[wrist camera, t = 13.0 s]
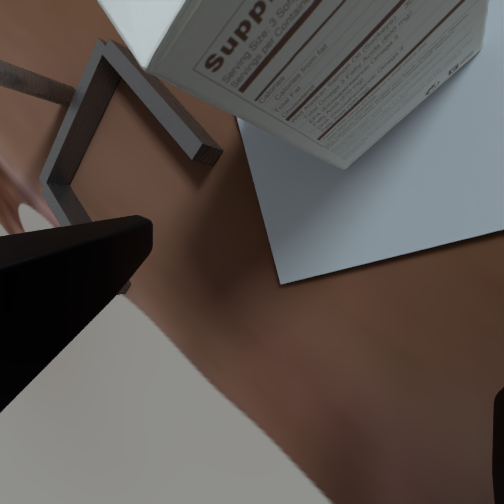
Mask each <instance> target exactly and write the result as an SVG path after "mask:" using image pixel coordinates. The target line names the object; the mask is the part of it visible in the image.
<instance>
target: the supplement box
mask: <svg viewBox="0 0 504 504" xmlns="http://www.w3.org/2000/svg"><path fill="white" fill-rule="evenodd" d="M97 1H98V3H99V4H100V6H101V7H102V9H103V10H104V12H105V13H106V15H107V16H108V18H109V19H110V21H111V22H112V24H113V25H114V27H115V28H116V30H117V31H118V33H119V34H120V36H121V38H122V39H123V41H124V42H125V44H126V45H127V47H128V48H129V50H130V51H131V52H132V54H133V55H134V57H135V59H136V60H137V62H138V64H139V65H140V67H141V68H142V69H143V70H144V71H145V72H146V73H148V74H150V75H153V76H155V77H157V78H159V79H161V80H163V81H165V82H167V83H170V84H172V85H174V86H176V87H178V88H180V89H182V90H184V91H186V92H188V93H190V94H191V95H193V96H195V97H197V98H199V99H201V100H203V101H206V102H208V103H210V104H212V105H214V106H215V107H217V108H219V109H221V110H224V111H226V112H228V113H230V114H232V115H234V116H236V117H238V118H240V119H242V120H243V121H245V122H247V123H249V124H251V125H253V126H255V127H257V128H259V129H261V130H263V131H265V132H267V133H269V134H271V135H273V136H275V137H277V138H279V139H281V140H283V141H285V142H287V143H289V144H291V145H293V146H295V147H297V148H299V149H301V150H303V151H305V152H307V153H309V154H311V155H313V156H315V157H317V158H319V159H321V160H324V161H326V162H328V163H330V164H332V165H334V166H336V167H338V168H340V169H342V170H345V169H347V168H348V167H349V166H350V165H351V164H352V163H353V162H354V161H355V160H356V159H358V158H359V157H360V156H361V155H362V154H363V153H365V152H366V151H367V150H368V149H369V148H370V147H371V146H372V145H374V144H375V143H376V142H377V141H378V140H379V139H381V138H382V137H383V136H384V135H385V134H386V133H387V132H388V131H389V130H391V129H392V128H393V127H394V126H395V125H396V124H397V123H399V122H400V121H401V120H402V119H403V118H404V117H405V116H407V115H408V114H409V113H410V112H411V111H412V110H413V109H415V108H416V107H417V106H418V105H419V104H420V103H421V102H422V101H423V100H425V99H426V98H427V97H428V96H429V95H431V94H432V93H433V92H434V91H435V90H436V89H437V88H438V87H439V86H441V85H442V84H443V83H444V82H445V81H446V80H447V79H449V78H450V77H451V76H452V75H453V74H454V73H455V72H456V71H457V70H458V69H460V68H461V67H462V66H463V65H464V64H465V63H467V62H468V61H469V60H470V59H471V58H472V57H473V56H474V55H475V54H477V53H478V52H479V51H480V50H481V49H482V47H483V44H484V36H485V28H486V21H487V13H488V4H489V0H97Z"/></svg>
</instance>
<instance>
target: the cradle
mask: <svg viewBox="0 0 504 504" xmlns="http://www.w3.org/2000/svg"><path fill="white" fill-rule="evenodd" d="M121 77H122V78H123V79H124V80H125V82H126V83H127V84H128V85H129V86H130V87H131V89H132V90H133V91H134V92H135V93H136V95H137V96H138V97H139V98H140V99H141V100H142V102H143V103H144V104H145V105H146V106H147V108H148V109H149V110H150V111H151V112H152V113H153V115H154V116H155V117H156V118H157V119H158V121H159V122H160V123H161V124H162V125H163V126H164V128H165V129H166V130H167V131H168V132H169V134H170V135H171V136H172V137H173V138H174V139H175V141H176V142H177V143H178V144H179V145H180V147H181V148H182V149H183V150H184V151H185V152H186V154H187V155H188V156H189V157H190V158H191V160H194V161H198V162H202V163H205V164H209V165H214V163H215V162H216V160H217V159H218V157H219V156H220V154H221V153H222V152H223V150H222V149H221V148H220V146H219V145H218V144H217V143H216V142H215V141H214V140H213V139H212V138H211V137H210V135H209V134H208V133H207V132H206V131H205V130H204V129H203V128H202V127H201V126H200V124H199V123H198V122H197V121H196V120H195V119H194V118H193V117H192V116H191V115H190V113H189V112H188V111H187V110H186V109H185V108H184V107H183V106H182V105H181V104H180V102H179V101H178V100H177V99H176V98H175V97H174V96H173V95H172V94H171V93H170V91H169V90H168V89H167V88H166V87H165V86H164V85H163V84H162V83H161V82H160V80H159V79H158V78H157V77H155V76H153V75H150V74H148V73H146V72H145V71H144V70H143V69H142V68H141V67H140V65H139V64H138V62H137V60H136V59H135V57H134V55H133V54H132V52H131V51H130V50H129V49H128V48H126V47H124V46H122V45H120V44H119V43H117V42H115V41H113V40H111V39H109V40H108V43H107V42H105V41H103V40H102V39H100V38H98V40H97V42H96V45H95V47H94V49H93V52H92V54H91V56H90V59H89V61H88V63H87V66H86V68H85V71H84V73H83V75H82V78H81V80H80V82H79V85H78V87H77V89H76V91H75V89H74V87H72V86H69V85H66V84H64V83H61V82H58V81H56V80H53V79H50V78H47V77H45V76H42V75H39V74H37V73H34V72H31V71H29V70H26V69H23V68H21V67H18V66H15V65H12V64H10V63H7V62H4V61H2V60H0V86H3V87H6V88H9V89H12V90H15V91H18V92H22V93H25V94H28V95H31V96H34V97H37V98H41V99H44V100H47V101H50V102H53V103H56V104H60V105H63V106H66V107H69V108H68V111H67V113H66V115H65V118H64V120H63V123H62V125H61V127H60V130H59V132H58V134H57V137H56V139H55V141H54V144H53V146H52V149H51V151H50V153H49V156H48V158H47V160H46V163H45V165H44V167H43V170H42V172H41V175H40V177H39V180H40V182H41V184H42V185H43V187H44V189H43V191H42V194H43V196H44V198H45V200H46V201H47V203H48V205H49V207H50V208H51V210H52V212H53V214H54V215H55V217H56V219H57V220H58V222H59V224H60V226H61V227H63V226H70V225H76V224H82V223H89V222H92V221H91V219H90V218H89V216H88V215H87V213H86V211H85V210H84V208H83V207H82V205H81V204H80V202H79V200H78V199H77V197H76V196H75V194H74V192H73V191H72V189H71V188H70V186H69V184H70V182H71V180H72V178H73V176H74V174H75V172H76V170H77V168H78V165H79V163H80V161H81V159H82V157H83V155H84V153H85V151H86V149H87V147H88V145H89V142H90V140H91V138H92V136H93V134H94V132H95V130H96V128H97V126H98V124H99V121H100V119H101V117H102V115H103V113H104V111H105V109H106V107H107V105H108V103H109V101H110V98H111V96H112V94H113V92H114V90H115V88H116V86H117V84H118V82H119V80H120V78H121ZM130 285H131V283H130V282H129V281H128V282H127V283H126V284H125V286H124V287H123V288H122V289H121V290H120V292H119V293H118V294H117V295H119V294H124V293H125V292H126V291H127V289H128V288H129V286H130Z"/></svg>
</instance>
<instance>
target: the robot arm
mask: <svg viewBox="0 0 504 504" xmlns="http://www.w3.org/2000/svg"><path fill="white" fill-rule="evenodd" d="M152 247H153V224H152V221H151V220H149V219H147V218H144V217H142V216H139V215H133V216H127V217H120V218H114V219H108V220H101V221H95V222H89V223H82V224H76V225H70V226H63V227H57V228H51V229H44V230H38V231H32V232H25V233H19V234H13V235H6V236H0V413H1V412H2V411H3V409H4V408H5V407H6V406H7V405H8V404H9V403H10V402H11V401H12V400H13V399H14V398H15V397H16V396H17V395H18V394H19V393H20V392H21V391H22V390H23V389H24V388H25V387H26V386H27V385H28V384H29V383H30V382H31V381H32V380H33V379H34V378H35V377H36V376H37V375H38V374H39V373H40V372H41V371H42V370H43V369H44V368H45V367H46V366H47V365H48V364H49V363H50V362H51V361H52V360H53V359H54V358H55V357H56V356H57V355H58V354H59V353H60V352H61V351H62V350H63V349H64V348H65V347H66V346H67V345H68V344H69V343H70V342H71V341H72V340H73V339H74V338H75V337H76V336H77V335H78V334H79V333H80V332H81V331H82V330H83V329H84V328H85V327H86V325H88V324H89V323H90V321H92V320H93V319H94V318H95V317H96V315H98V314H99V312H101V310H103V309H104V307H105V306H106V305H107V304H108V303H109V302H110V301H111V300H112V299H113V298H114V297H115V296H116V295H117V294H118V293H119V292H120V290H121V289H122V288H123V287H124V286H125V284H126V283H127V282H128V281H129V279H130V278H131V277H132V276H133V274H134V273H135V272H136V270H137V269H138V268H139V267H140V265H141V264H142V263H143V262H144V260H145V259H146V258H147V257H148V255H149V254H150V252H151V250H152ZM492 476H493V490H494V500H495V504H504V387H503V388H502V389H501V390H500V391H499V392H498V393H497V395H496V397H495V400H494V414H493V450H492Z"/></svg>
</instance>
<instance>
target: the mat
mask: <svg viewBox="0 0 504 504" xmlns="http://www.w3.org/2000/svg"><path fill="white" fill-rule="evenodd" d="M237 121H238V124H239V128H240V132H241V136H242V140H243V143H244V147H245V151H246V155H247V159H248V162H249V166H250V170H251V174H252V178H253V181H254V185H255V189H256V193H257V197H258V200H259V204H260V208H261V212H262V216H263V219H264V223H265V227H266V231H267V235H268V238H269V242H270V246H271V250H272V254H273V257H274V261H275V265H276V269H277V273H278V276H279V280H280V284H285V283H289V282H293V281H297V280H301V279H305V278H309V277H313V276H317V275H321V274H325V273H329V272H333V271H337V270H342V269H346V268H350V267H354V266H358V265H362V264H366V263H370V262H374V261H378V260H382V259H386V258H390V257H394V256H398V255H402V254H406V253H410V252H414V251H419V250H423V249H427V248H431V247H435V246H439V245H443V244H447V243H451V242H455V241H459V240H463V239H467V238H471V237H475V236H479V235H483V234H487V233H492V232H496V231H500V230H504V0H489V4H488V13H487V21H486V28H485V36H484V44H483V47H482V49H481V50H480V51H479V52H478V53H477V54H475V55H474V56H473V57H472V58H471V59H470V60H469V61H468V62H467V63H465V64H464V65H463V66H462V67H461V68H460V69H458V70H457V71H456V72H455V73H454V74H453V75H452V76H451V77H450V78H449V79H447V80H446V81H445V82H444V83H443V84H442V85H441V86H439V87H438V88H437V89H436V90H435V91H434V92H433V93H432V94H431V95H429V96H428V97H427V98H426V99H425V100H423V101H422V102H421V103H420V104H419V105H418V106H417V107H416V108H415V109H413V110H412V111H411V112H410V113H409V114H408V115H407V116H405V117H404V118H403V119H402V120H401V121H400V122H399V123H397V124H396V125H395V126H394V127H393V128H392V129H391V130H389V131H388V132H387V133H386V134H385V135H384V136H383V137H382V138H381V139H379V140H378V141H377V142H376V143H375V144H374V145H372V146H371V147H370V148H369V149H368V150H367V151H366V152H365V153H363V154H362V155H361V156H360V157H359V158H358V159H356V160H355V161H354V162H353V163H352V164H351V165H350V166H349V167H348V168H347V169H345V170H342V169H340V168H338V167H336V166H334V165H332V164H330V163H328V162H326V161H324V160H321V159H319V158H317V157H315V156H313V155H311V154H309V153H307V152H305V151H303V150H301V149H299V148H297V147H295V146H293V145H291V144H289V143H287V142H285V141H283V140H281V139H279V138H277V137H275V136H273V135H271V134H269V133H267V132H265V131H263V130H261V129H259V128H257V127H255V126H253V125H251V124H249V123H247V122H245V121H243V120H242V119H240V118H238V117H237Z"/></svg>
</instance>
